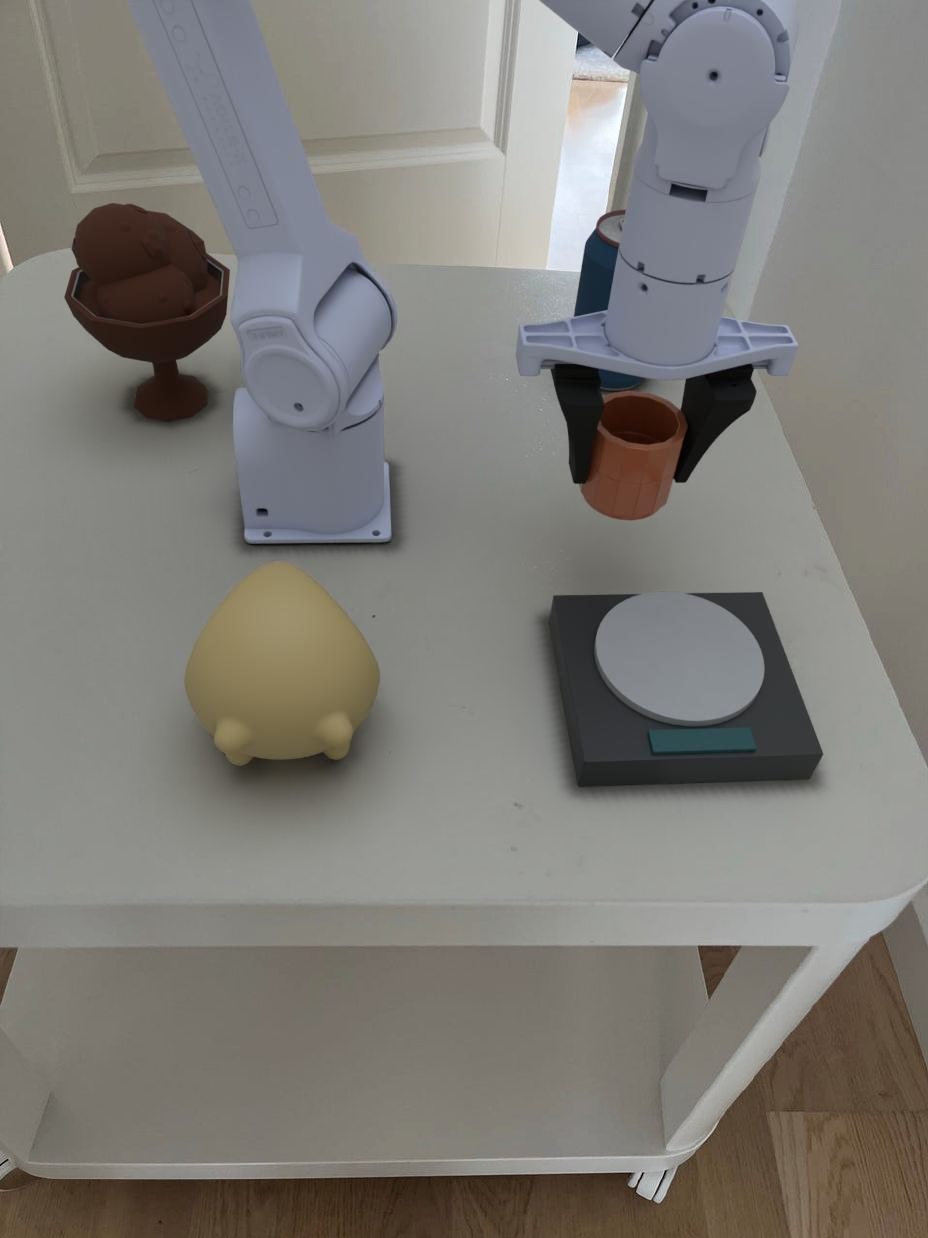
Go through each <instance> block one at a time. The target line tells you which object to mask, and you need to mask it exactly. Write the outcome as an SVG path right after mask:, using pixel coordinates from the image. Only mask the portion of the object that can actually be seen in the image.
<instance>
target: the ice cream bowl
mask: <svg viewBox="0 0 928 1238" xmlns="http://www.w3.org/2000/svg"><path fill="white" fill-rule="evenodd" d="M71 251H72V253H73V256H74V258H75V261H76V265H77V267H75V268H74V269H72V270H71V272H70V275H69V280H68V282H67V286H66V290H65V293H64V300H65V302H66V304H67V306H68V308H69V310H70V312H71V314H72V316H73V317H74V319H75V320H76V321H77V322H78V323H79V324H80V326H82V328H83V329H84V331H86V332H87V333H88V334H89V335H90V336H91V337H93V338H94V339H95V340H96V341H97V342H98V343H100V345H102V346H103V347H104V348H105V349H106V350H108V351H109V352H111V353H113V354H115V355H118V356H119V357H121V358H124V359H129V360H134V361H139V362H145V363H151V364H152V369H153V374H154V375H153V376H150V377H149V378H148V379H146V380H145V381H144V382H142V383H140V384H139V385H138V386H136V391H135V396H134V403H133V408H135V409H136V410H137V411H138V412H139V413H140V414H141V415H142V416H143V417H144V418H146V419H149V420H150V419H151V420H156V421H163V422H174V421H178V420H182V419H188V418H192V417H194V416H195V415H196V414H198V413H199V412H200V411H201V410H203V409H204V408H205V407H207V406H208V400H209V390H208V387H207V386H206V385H205V384H204V383H203V382H202V381H200V380H199V378H197V377H196V376H194V375H191V374H185V373H180V371H179V366H178V362H177V361H178V360H182V359H185V358H187V357H189V356H190V355H191V354H192V353H194V352H195V351H197V350H198V349H200V348H201V347H203V346H204V345H206V344H207V343H208V342H209V341H210V340H211V339H213V337H214V336H216V335H217V334H218V333H219V332H220V331H221V329H222V328H223V326H224V325H223V324H224V322H225V319H226V317H227V313H228V301H229V287H230V274H231V269H230V268H228V267H227V266H226V265H224V264H223V263H221V262H220V261H218V260H217V259H216V258H214V257H213V256H212V255H210V254H209V253H207V251H206V245H205V241H204V240H203V239H202V237H200V236H199V235H198V234H197V233H195V231H194V230H192V229H191V228H189V227H187V226H186V225H184V224H183V223H181V222H180V221H179V220H177V219H176V218H174V217H173V216H170V215H169V214H168V213H165V212H159V211H153V210H147V209H145V208H143V207H141V206H139V205H137V204H134V203H125V204H122V203H115V202H110V203H107V204H104V205H99V206H97V207H94V208H92V209H91V210H90V211H89V212H88V213H87V215H86V216H84V218H82V219H81V221H80V222H78V223H77V225H76V227H75V231H74V238H73V239H72V243H71Z"/></svg>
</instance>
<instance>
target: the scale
mask: <svg viewBox="0 0 928 1238" xmlns="http://www.w3.org/2000/svg"><path fill="white" fill-rule="evenodd" d="M549 612H550V613H549V618H548V625H549V631H550V637H551V643H552V647H553V653H554V659H555V664H556V671H557V676H558V682H559V687H560V693H561V698H562V705H563V710H564V715H565V716H564V717H565V721H566V728H567V732H568V738H569V744H570V749H571V755H572V761H573V766H574V774H575V778H576V785H577V787H602V786H603V787H604V786H629V785H630V786H631V785H633V786H634V785H636V786H637V785H661V784H662V785H664V784H691V783H692V784H693V783H694V784H695V783H722V782H723V783H725V782H726V783H727V782H753V781H754V782H757V781H784V780H786V781H787V780H809V779H811V778H812V776H813V774H814V773H815V771H816V769H817V767H818V765H819V764H820V762H821V760H822V758H823V756H824V752H823V749H822V747H821V744H820V741H819V738H818V736H817V732H816V731H815V728H814V725H813V722H812V720H811V718H810V715H809V711H808V709H807V707H806V704H805V701H804V699H803V696H802V694H801V691H800V689H799V685H798V682H797V680H796V678H795V674H794V672H793V669H792V667H791V664H790V662H789V659H788V656H787V653H786V651H785V648H784V646H783V643H782V640H781V638H780V636H779V633H778V630H777V627H776V625H775V621H774V620H773V618H772V613H771V612H770V609H769V606H768V604H767V600H766V598H765V596H764V592H762V591H749V592H747V591H745V592H744V591H743V592H741V591H740V592H737V591H736V592H678V591H651V592H645V593H620V594H619V593H618V594H615V593H614V594H554V595H553V596H552V601H551V607H550V611H549Z"/></svg>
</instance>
